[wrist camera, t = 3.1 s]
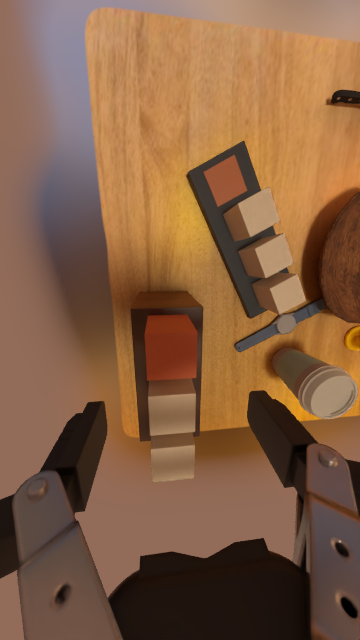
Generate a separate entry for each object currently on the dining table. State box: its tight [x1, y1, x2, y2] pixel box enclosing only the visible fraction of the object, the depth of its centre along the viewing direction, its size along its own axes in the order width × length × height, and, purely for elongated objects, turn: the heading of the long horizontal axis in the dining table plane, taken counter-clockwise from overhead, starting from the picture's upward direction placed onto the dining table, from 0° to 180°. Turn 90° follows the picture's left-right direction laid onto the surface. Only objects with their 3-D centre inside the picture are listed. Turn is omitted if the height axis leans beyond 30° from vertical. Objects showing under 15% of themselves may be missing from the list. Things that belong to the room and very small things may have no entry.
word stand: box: [131, 291, 203, 483], centre depth 28 cm, size 18×8×19 cm, turn 0°
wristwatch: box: [235, 297, 328, 352], centre depth 38 cm, size 4×20×1 cm, turn 118°
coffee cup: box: [272, 347, 358, 419], centre depth 35 cm, size 8×8×12 cm
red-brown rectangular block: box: [145, 314, 197, 381], centre depth 20 cm, size 4×4×6 cm
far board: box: [187, 141, 306, 318], centre depth 30 cm, size 9×25×8 cm, turn 28°
